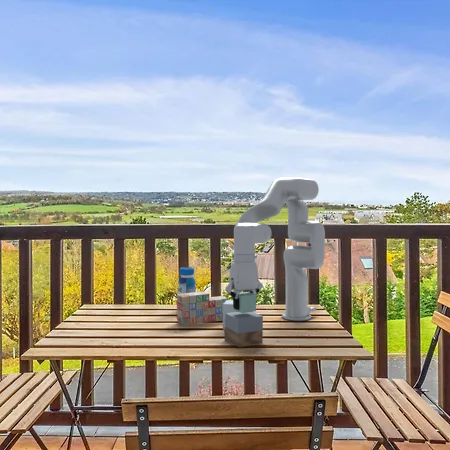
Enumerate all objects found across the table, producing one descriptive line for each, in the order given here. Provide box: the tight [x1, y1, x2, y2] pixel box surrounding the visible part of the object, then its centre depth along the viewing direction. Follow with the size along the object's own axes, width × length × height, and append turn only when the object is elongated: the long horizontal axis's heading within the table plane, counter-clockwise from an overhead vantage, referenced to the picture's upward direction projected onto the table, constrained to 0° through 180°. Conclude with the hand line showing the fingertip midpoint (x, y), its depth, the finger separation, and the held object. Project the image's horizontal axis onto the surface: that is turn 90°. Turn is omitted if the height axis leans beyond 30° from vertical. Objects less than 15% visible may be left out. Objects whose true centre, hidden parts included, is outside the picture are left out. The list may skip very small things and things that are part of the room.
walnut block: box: [224, 327, 264, 348], centre depth 167 cm, size 10×10×5 cm
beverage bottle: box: [177, 266, 197, 294], centre depth 214 cm, size 8×8×20 cm
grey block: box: [225, 311, 264, 334], centre depth 166 cm, size 10×10×5 cm
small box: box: [222, 299, 237, 331], centre depth 185 cm, size 8×6×10 cm
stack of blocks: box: [176, 291, 229, 327], centre depth 196 cm, size 21×6×12 cm, turn 119°
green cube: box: [233, 291, 257, 313], centre depth 166 cm, size 6×6×6 cm
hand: (244, 307), depth 166 cm, fingers closed on green cube, 5 cm apart
